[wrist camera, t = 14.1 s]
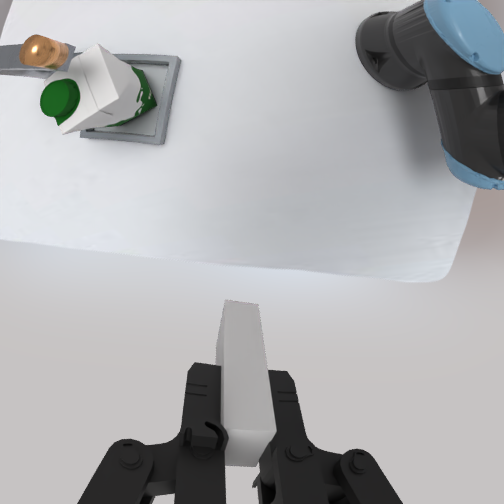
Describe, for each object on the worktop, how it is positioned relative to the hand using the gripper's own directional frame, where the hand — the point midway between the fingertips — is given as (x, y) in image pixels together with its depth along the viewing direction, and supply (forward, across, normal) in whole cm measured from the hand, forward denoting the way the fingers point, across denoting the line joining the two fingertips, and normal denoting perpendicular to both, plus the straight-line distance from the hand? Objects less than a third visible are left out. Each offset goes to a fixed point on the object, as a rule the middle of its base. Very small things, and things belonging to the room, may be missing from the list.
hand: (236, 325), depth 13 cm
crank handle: (+13, -25, +14) cm, 31 cm away
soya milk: (+37, -19, +11) cm, 43 cm away
